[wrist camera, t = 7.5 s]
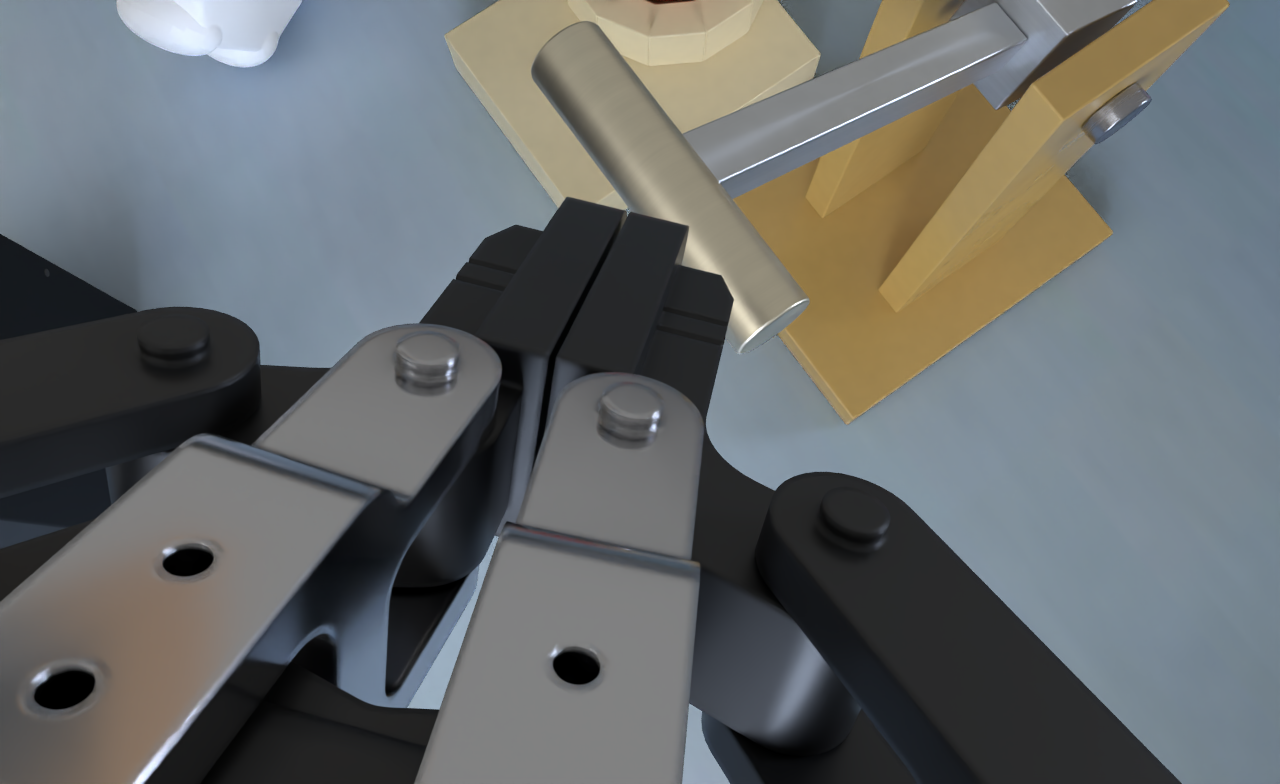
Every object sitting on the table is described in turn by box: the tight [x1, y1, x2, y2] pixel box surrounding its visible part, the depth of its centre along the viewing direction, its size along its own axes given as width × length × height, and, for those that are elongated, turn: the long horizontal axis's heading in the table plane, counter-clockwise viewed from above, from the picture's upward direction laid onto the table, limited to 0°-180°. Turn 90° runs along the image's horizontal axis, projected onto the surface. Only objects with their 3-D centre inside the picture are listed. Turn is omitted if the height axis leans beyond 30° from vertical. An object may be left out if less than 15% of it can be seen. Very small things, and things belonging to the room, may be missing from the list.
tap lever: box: [531, 0, 1137, 354], centre depth 20 cm, size 13×6×2 cm, turn 124°
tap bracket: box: [733, 0, 1230, 424], centre depth 28 cm, size 11×9×15 cm
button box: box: [444, 0, 821, 210], centre depth 34 cm, size 11×9×4 cm
